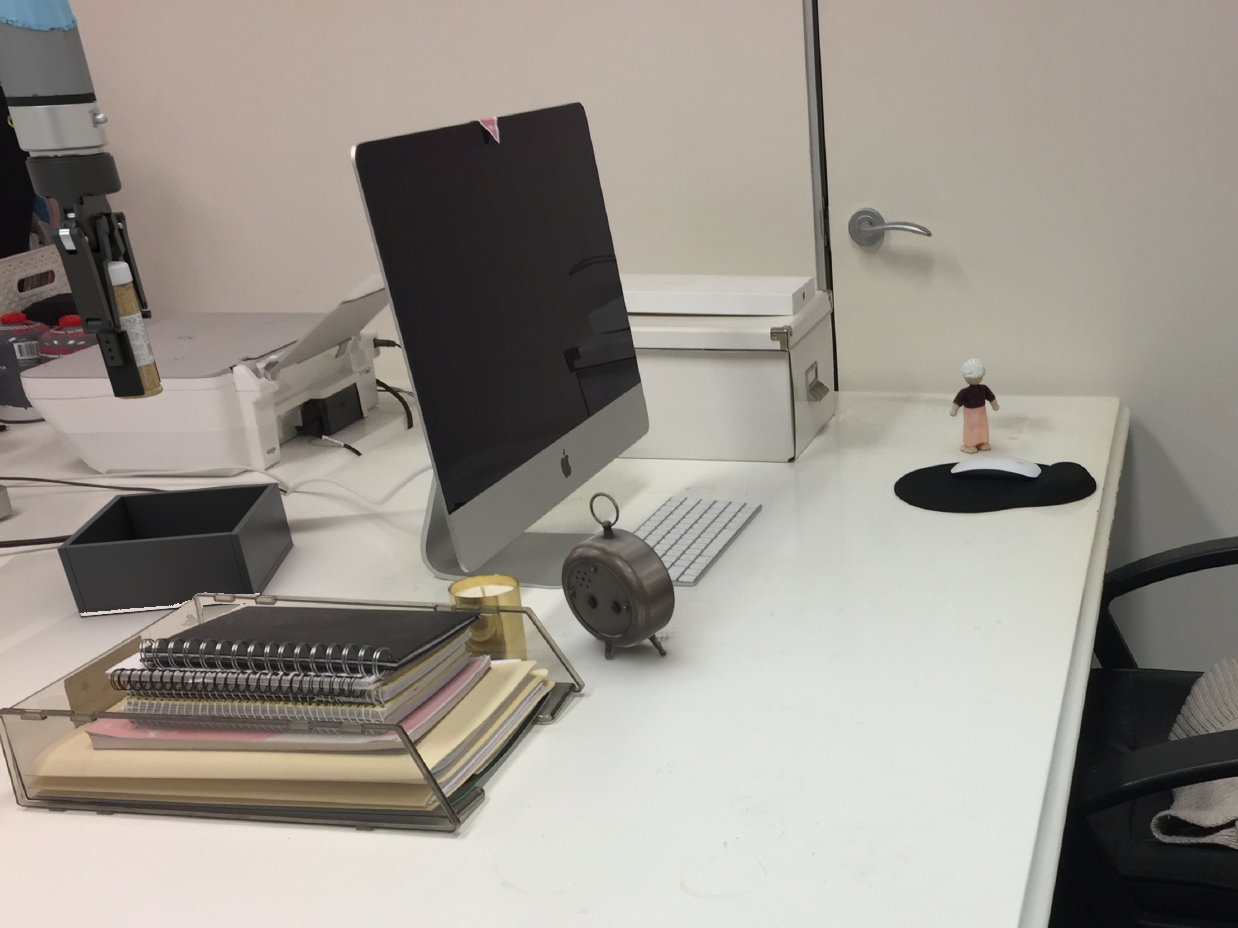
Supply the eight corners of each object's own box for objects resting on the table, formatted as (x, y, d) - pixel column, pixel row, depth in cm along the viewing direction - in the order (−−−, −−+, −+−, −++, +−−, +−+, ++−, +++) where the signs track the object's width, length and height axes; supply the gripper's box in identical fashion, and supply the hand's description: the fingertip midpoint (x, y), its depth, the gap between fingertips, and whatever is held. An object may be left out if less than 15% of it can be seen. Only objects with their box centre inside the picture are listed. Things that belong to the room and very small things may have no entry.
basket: (80, 617, 139) (56, 548, 135) (136, 558, 154) (116, 494, 150) (256, 601, 141) (237, 533, 138) (293, 544, 157) (277, 482, 153)
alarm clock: (684, 652, 127) (666, 492, 120) (647, 674, 123) (626, 510, 116) (600, 630, 132) (577, 475, 125) (562, 650, 128) (536, 492, 121)
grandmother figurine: (984, 441, 188) (984, 352, 182) (1002, 446, 185) (1003, 356, 179) (943, 452, 183) (942, 361, 178) (961, 458, 181) (961, 366, 175)
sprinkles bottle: (123, 392, 140) (84, 261, 134) (169, 388, 141) (132, 258, 135) (111, 402, 136) (70, 268, 130) (158, 398, 137) (120, 265, 131)
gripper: (75, 158, 121) (149, 407, 131) (138, 143, 136) (200, 367, 147) (-14, 161, 119) (68, 413, 130) (60, 146, 135) (128, 372, 145)
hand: (138, 388), depth 138 cm, fingers closed on sprinkles bottle, 4 cm apart
